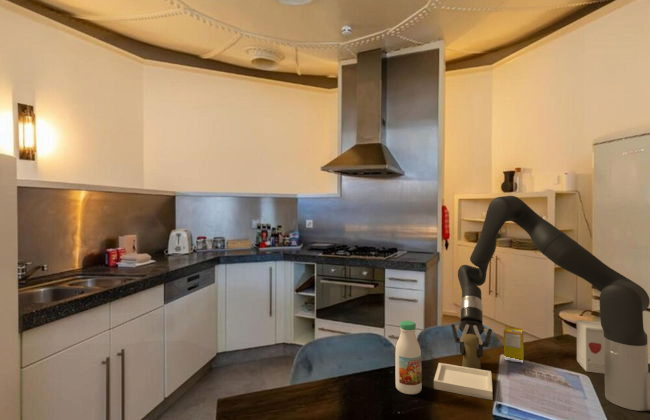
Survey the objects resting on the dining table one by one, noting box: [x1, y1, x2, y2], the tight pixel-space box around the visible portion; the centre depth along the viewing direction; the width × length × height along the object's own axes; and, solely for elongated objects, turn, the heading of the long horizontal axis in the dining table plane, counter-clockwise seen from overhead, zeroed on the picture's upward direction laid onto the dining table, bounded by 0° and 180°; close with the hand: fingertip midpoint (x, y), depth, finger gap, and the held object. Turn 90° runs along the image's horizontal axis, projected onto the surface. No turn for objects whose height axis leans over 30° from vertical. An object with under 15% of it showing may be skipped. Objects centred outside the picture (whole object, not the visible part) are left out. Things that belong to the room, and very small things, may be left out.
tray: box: [433, 362, 493, 401], centre depth 106 cm, size 16×14×2 cm
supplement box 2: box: [576, 319, 605, 375], centre depth 116 cm, size 9×9×15 cm
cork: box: [461, 334, 482, 370], centre depth 118 cm, size 6×6×11 cm
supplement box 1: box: [503, 326, 525, 361], centre depth 124 cm, size 6×6×11 cm
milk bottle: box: [394, 320, 423, 395], centre depth 104 cm, size 8×8×20 cm
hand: (471, 355), depth 116 cm, fingers closed on cork, 4 cm apart
